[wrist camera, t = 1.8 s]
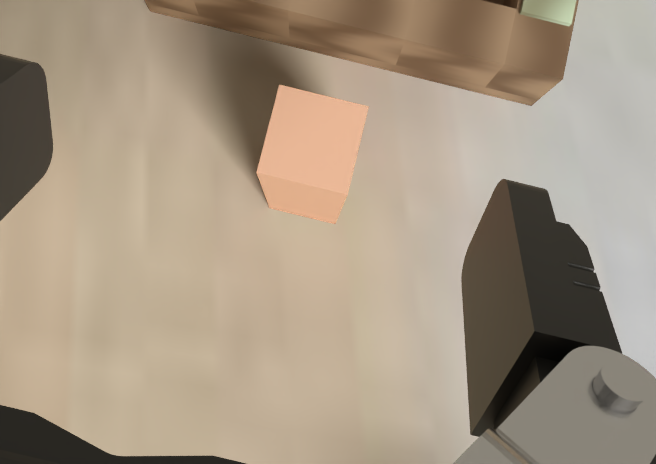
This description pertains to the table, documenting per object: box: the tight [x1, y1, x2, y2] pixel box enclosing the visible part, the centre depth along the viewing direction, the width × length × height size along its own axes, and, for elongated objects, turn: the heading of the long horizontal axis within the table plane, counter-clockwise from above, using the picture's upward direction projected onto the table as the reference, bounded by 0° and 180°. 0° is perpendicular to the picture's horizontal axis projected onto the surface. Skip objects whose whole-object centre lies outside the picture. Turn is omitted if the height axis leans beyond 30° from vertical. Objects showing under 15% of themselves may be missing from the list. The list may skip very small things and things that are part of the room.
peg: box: [256, 85, 369, 224], centre depth 31 cm, size 4×4×10 cm
